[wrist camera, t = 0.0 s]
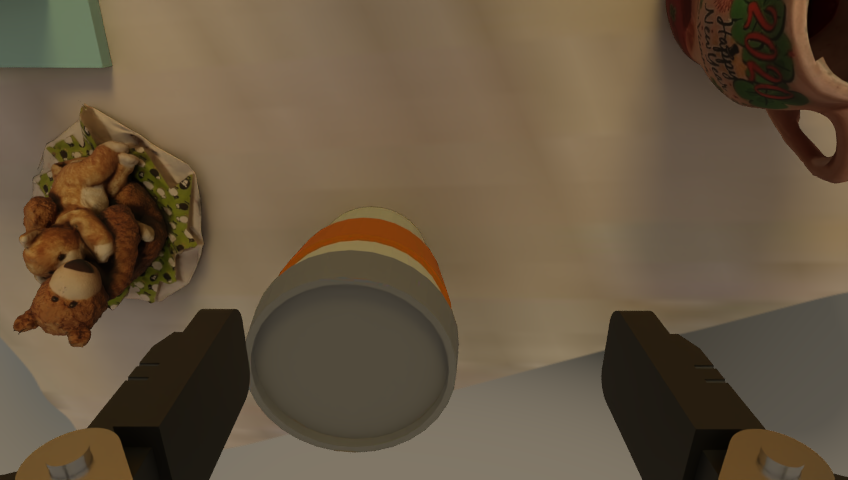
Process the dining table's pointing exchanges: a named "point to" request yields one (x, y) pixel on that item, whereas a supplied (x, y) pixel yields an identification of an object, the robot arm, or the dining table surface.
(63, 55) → the baseplate
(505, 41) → the dining table surface
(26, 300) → the dining table surface
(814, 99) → the brown ceramic mug
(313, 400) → the reusable coffee cup
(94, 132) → the bear figurine
